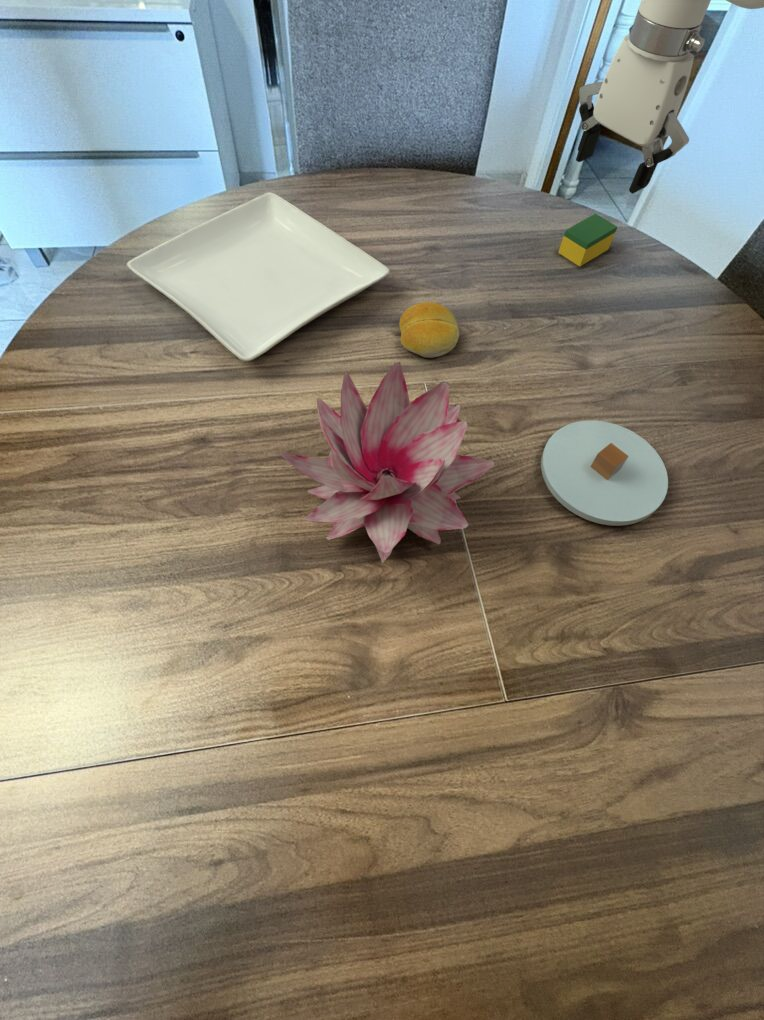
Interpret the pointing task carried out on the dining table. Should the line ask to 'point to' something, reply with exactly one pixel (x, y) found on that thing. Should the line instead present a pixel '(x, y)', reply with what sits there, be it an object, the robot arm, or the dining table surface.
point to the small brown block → (609, 461)
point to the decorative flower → (391, 463)
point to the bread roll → (428, 329)
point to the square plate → (257, 273)
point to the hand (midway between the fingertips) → (609, 174)
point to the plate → (588, 491)
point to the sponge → (587, 239)
